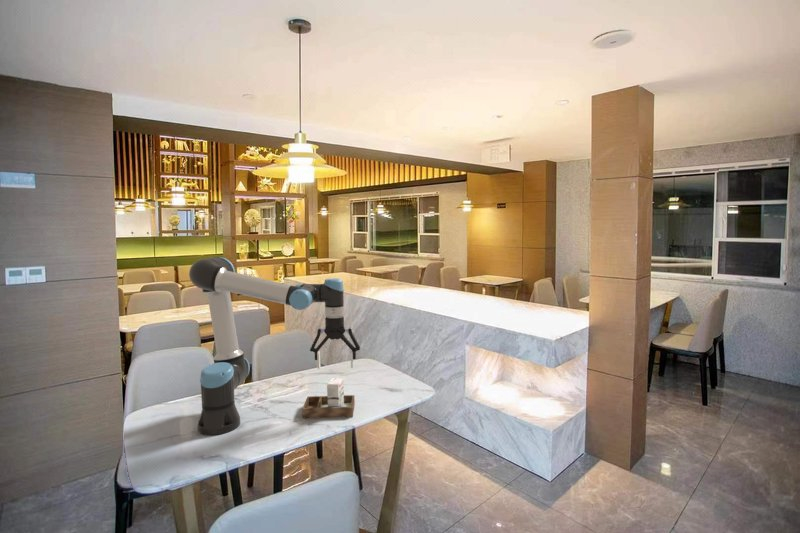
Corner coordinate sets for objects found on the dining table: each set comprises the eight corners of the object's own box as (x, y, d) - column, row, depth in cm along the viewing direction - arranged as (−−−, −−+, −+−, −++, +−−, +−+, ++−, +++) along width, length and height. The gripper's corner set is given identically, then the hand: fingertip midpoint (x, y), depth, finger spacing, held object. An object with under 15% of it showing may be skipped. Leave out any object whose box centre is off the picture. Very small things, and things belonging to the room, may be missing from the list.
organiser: (302, 418, 175) (302, 408, 175) (307, 405, 188) (307, 396, 188) (352, 417, 176) (352, 407, 176) (354, 404, 189) (354, 395, 189)
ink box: (339, 413, 177) (338, 384, 176) (327, 412, 178) (326, 384, 177) (344, 404, 186) (344, 377, 185) (333, 404, 187) (332, 377, 186)
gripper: (302, 318, 174) (303, 370, 176) (364, 317, 176) (365, 369, 177) (305, 315, 182) (306, 365, 184) (365, 314, 183) (366, 363, 185)
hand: (335, 367), depth 181 cm, fingers open, 13 cm apart
